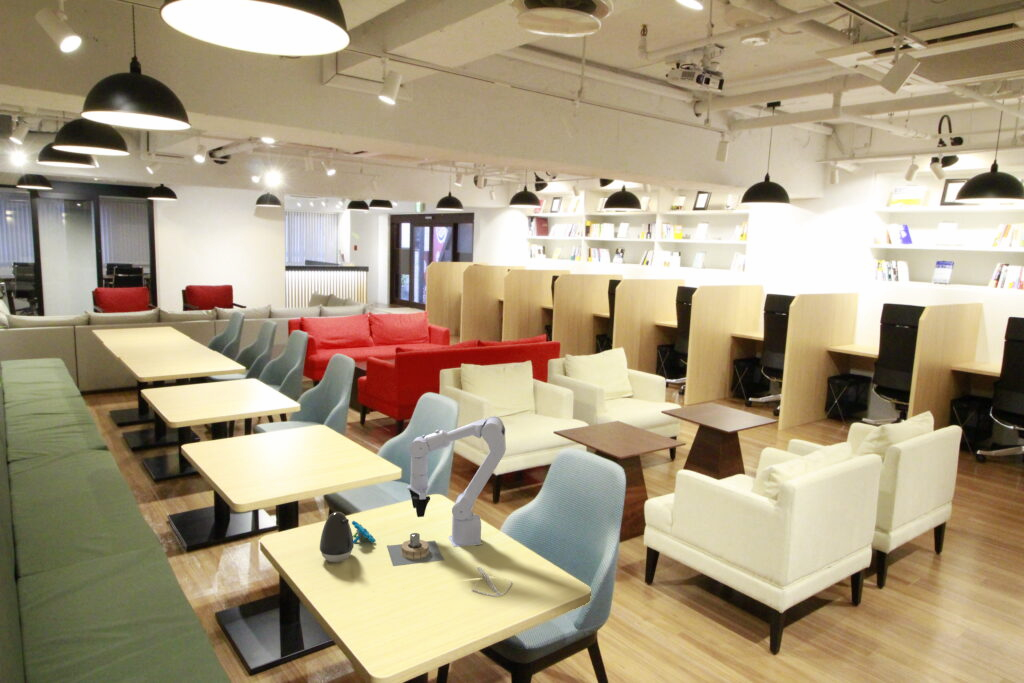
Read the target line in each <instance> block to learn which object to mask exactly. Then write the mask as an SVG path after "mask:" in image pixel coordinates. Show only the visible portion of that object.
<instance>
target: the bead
mask: <svg viewBox="0 0 1024 683" xmlns="http://www.w3.org/2000/svg"><path fill="white" fill-rule="evenodd" d="M401 544H402V545H401V554H402V556H403V557H405V558H408V559H420V558H423V557H425V556H427V555H428V553H429V545H428V543H427V541H426V540H424V539H420V548H416V549H413V548H410V539H409V540H405V541H403V542H402V543H401Z"/></svg>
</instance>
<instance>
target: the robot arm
mask: <svg viewBox="0 0 1024 683" xmlns="http://www.w3.org/2000/svg"><path fill="white" fill-rule="evenodd" d="M472 436H473V437H475V438H477V439H481V438H483V440H484V441H485V442H486V444H487V446H488V448H489V452H488V453H487V455H486V456H485V458H484V459H483V461H482V463H481V464H480V466H479V468H478V469H477V471H476V472H475V474H474V475H473V478H472V479H471V480H470V482H469V484H468V485H467V487H466V488H465V490H464V491H463V492H462V493H460V494H458V496H457V497H456V500H455V502H454V505H453V507H452V508H451V513H452V514H451V515H452V518H451V519H452V520H451V523H452V525H451V535H449V536H448V540H449V541H450V543H451V545H452V546H453V547H454V548H456V547H457V548H458V547H467V546H481V545H482V538H481V537H482V520H481V517H480V515H479V514H475V513H474V511H473V508H474V506H475V504H476V501H477V499H478V497H479V495H480V494H481V493H482V491H483V489H484V487H485V486H486V484H487V483H488V481H489V480H490V478H491V477H492V475H493V474H494V472H495V470H496V468H497V466H498V465H499V464H500V461H502V459H503V457H504V455H505V453H506V450H507V447H506V445H507V444H506V443H507V442H506V427H505V425H504V422H503V421H502V419H501V418H500V417H498V416H495V415H494V416H493V415H492V416H490V417H488V418H481V419H479V420H476V421H473V422H471V423H468V424H466V425H463V426H460V427H458V428H455V429H452V430H450V431H447V430H445V429H441V430H440V428H439V429H436V430H435V431H434V432H432V433H429V434H427V435H426V434H422V436H417V437H415V439H414V440H413V441H412V442H411V443H410V446H409V448H408V449H409V450H408V451H409V454H410V457H411V458H410V480H409V481H410V482H409V483H410V484H409V485H406V489H407V490H409V491H408V492H409V494H410V496H411V497H410V498H411V503H412V508H413V509H415V510H416V512H415V513H416V517H417V518H424V516H425V515H426V514H425V513H426V510H427V506H428V504H429V502H430V500H431V497H430V496H429V495H427V491H428V489H429V485H428V482H429V481H428V479H429V478H428V477H429V475H428V474H429V458H428V457H429V453H433V452H435V451H438V450H442V449H444V448H448V447H449V446H450V445H451V443H452V442H453V441H458V440H461V439H464V438H467V437H472Z"/></svg>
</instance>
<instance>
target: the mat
mask: <svg viewBox="0 0 1024 683" xmlns="http://www.w3.org/2000/svg"><path fill="white" fill-rule="evenodd" d="M426 542H427V543H428V545H429V553H428V555H427V556H425V557H423V558H420V559H408V558H405V557H403V556H402V554H401V545H402V544H403V543H401V544H391V545H386V549H387V551H388V554H389V557H390V561H391V563H392V564H391V565H392V567H397V566H406V565H414V564H422V563H431V562H438V561H445V559H444V556H443V554H442V552H441V550H440V547H439V546H438V544H437V541H436V540H429V541H426Z"/></svg>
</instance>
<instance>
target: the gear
mask: <svg viewBox="0 0 1024 683" xmlns="http://www.w3.org/2000/svg"><path fill="white" fill-rule="evenodd" d="M351 525H353V527H354V528H355V529H356V530H355V531H356V532H355V533H354V534H352V536H353V538H354V539H353V543H354V544H356V543H357V542H358V541H359V540H360V539H361V538H362V537H364V538H367V540H368V541H369V542H371V543H375V542H376V539H375V538H374V536H373V535H372V533H371V534H370V532H369V531H368V529H366V527H364V526H363V525H362V524H361V523H359V522H357V521H355V520H353V521H351Z"/></svg>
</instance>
